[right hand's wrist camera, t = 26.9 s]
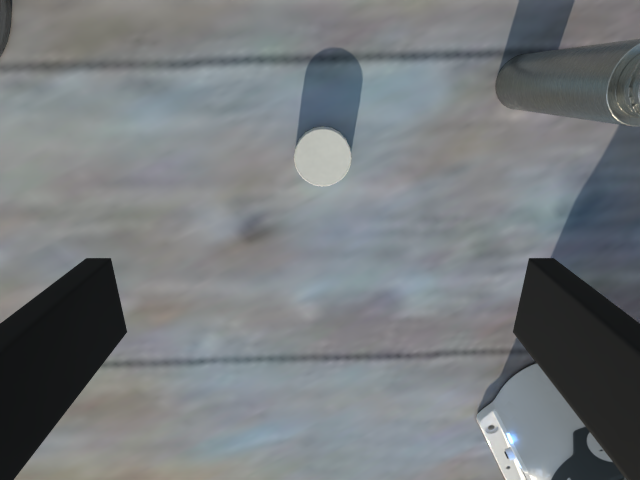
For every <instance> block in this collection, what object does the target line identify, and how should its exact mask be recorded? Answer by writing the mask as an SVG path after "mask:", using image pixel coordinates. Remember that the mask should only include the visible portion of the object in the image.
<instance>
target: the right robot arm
mask: <svg viewBox="0 0 640 480" xmlns="http://www.w3.org/2000/svg"><path fill="white" fill-rule="evenodd" d="M10 27H11V2H10V0H0V56H1V55H2V53H3V51H4V49H5V46H6V44H7V41H8V37H9V33H10ZM126 333H127V330H126V325H125V321H124V316H123V311H122V307H121V302H120V298H119V293H118V289H117V284H116V279H115V275H114V270H113V266H112V261H111V258H86V259H85V260H84V261H82V262H81V263H80V264H78V265H77V266H76V267H74V268H73V269H72V270H70V271H69V272H68V273H66V274H65V275H64V276H62V277H61V278H60V279H59V280H57V281H56V282H55V283H53V284H52V285H51V286H49V287H48V288H47V289H45V290H44V291H43V292H41V293H40V294H39V295H37V296H36V297H35V298H34V299H32V300H31V301H30V302H28V303H27V304H26V305H24V306H23V307H22V308H20V309H19V310H18V311H16V312H15V313H14V314H12V315H11V316H10V317H8V318H7V319H6V320H5V321H3V322H2V323H1V324H0V480H14V478H15V477H16V476H17V475H18V473H19V472H20V471H21V469H22V468H23V467H24V465H25V464H26V463H27V462H28V460H29V459H30V458H31V456H32V455H33V454H34V452H35V451H36V450H37V448H38V447H39V446H40V445H41V443H42V442H43V441H44V439H45V438H46V437H47V435H48V434H49V433H50V432H51V430H52V429H53V428H54V426H55V425H56V424H57V422H58V421H59V420H60V419H61V417H62V416H63V415H64V413H65V412H66V411H67V409H68V408H69V407H70V406H71V404H72V403H73V402H74V400H75V399H76V398H77V396H78V395H79V394H80V393H81V391H82V390H83V389H84V387H85V386H86V385H87V383H88V382H89V381H90V380H91V378H92V377H93V376H94V374H95V373H96V372H97V370H98V369H99V368H100V367H101V365H102V364H103V363H104V361H105V360H106V359H107V357H108V356H109V355H110V354H111V352H112V351H113V350H114V348H115V347H116V346H117V344H118V343H119V342H120V341H121V339H122V338H123V337H124V335H125V334H126ZM513 333H514V334H515V335H516V337H517V338H518V339H519V341H520V342H521V343H522V344H523V346H524V347H525V348H526V350H527V351H528V352H529V354H530V355H531V356H532V357H533V359H534V360H535V361H536V363H537V364H538V365H539V367H540V368H541V369H542V370H543V372H544V373H545V374H546V376H547V377H548V378H549V380H550V381H551V382H552V383H553V385H554V386H555V387H556V389H557V390H558V391H559V393H560V394H561V395H562V396H563V398H564V399H565V400H566V402H567V403H568V404H569V406H570V407H571V408H572V409H573V411H574V412H575V413H576V415H577V416H578V417H579V419H580V420H581V421H582V422H583V424H584V425H585V426H586V428H587V429H588V430H589V432H590V433H591V434H592V435H593V437H594V438H595V439H596V441H597V442H598V443H599V445H600V446H601V447H602V448H603V450H604V451H605V452H606V454H607V455H608V456H609V458H610V459H611V460H612V462H613V463H614V464H615V465H616V467H617V468H618V469H619V471H620V472H621V473H622V475H623V476H624V477H625V478H626V480H640V324H639V323H638V322H637V321H635V320H634V319H633V318H632V317H630V316H629V315H628V314H626V313H625V312H624V311H622V310H621V309H620V308H618V307H617V306H616V305H614V304H613V303H612V302H610V301H609V300H608V299H606V298H605V297H604V296H603V295H601V294H600V293H599V292H597V291H596V290H595V289H593V288H592V287H591V286H589V285H588V284H587V283H585V282H584V281H583V280H581V279H580V278H579V277H577V276H576V275H575V274H574V273H572V272H571V271H570V270H568V269H567V268H566V267H564V266H563V265H562V264H560V263H559V262H558V261H556V260H555V259H554V258H529V261H528V266H527V270H526V275H525V279H524V284H523V289H522V293H521V298H520V302H519V307H518V311H517V316H516V321H515V325H514V330H513Z"/></svg>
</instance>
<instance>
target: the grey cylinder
mask: <svg viewBox="0 0 640 480" xmlns="http://www.w3.org/2000/svg"><path fill="white" fill-rule="evenodd" d="M496 93H497V96H498V99H499V100H500V102H501V103H502V104H503V105H504V106H506V107H508V108H511V109H516V110H523V111H530V112H537V113H543V114H550V115H557V116H564V117H571V118H578V119H585V120H592V121H599V122H605V123H612V124H619V125H626V126H634V127H639V126H640V39H635V40H628V41H620V42H613V43H605V44H597V45H590V46H582V47H575V48H567V49H560V50H552V51H544V52H537V53H529V54H522V55H518V56H516V57H514V58H512V59H511V60H509V61H508V62H507V63H506V64H505V65H504V66H503V67H502V69H501V70H500V72H499V74H498V77H497V80H496Z"/></svg>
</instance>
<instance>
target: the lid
mask: <svg viewBox="0 0 640 480" xmlns="http://www.w3.org/2000/svg"><path fill="white" fill-rule="evenodd" d="M350 149H351V148H350V146H349V145H348V143H347V139H346V138H344V136H343V135H342V134H341V133H340V131H339V132H338V131H337V130H335V129H332V127H331V128H329V127H323V126H322V127H316V128H314V127H313V129H311V130H309V131H307V132H305V134H304V135H303V136H302V137H301V138H299V142H298V144H297V146H296V147H295V155H294V161H295V167H296V169H297V171H298V173H299V174H300V175H301V177H302V178H303V179H304V180H306V181H307V182H309V183H311V184H313V185H317V186H329V185H332V184H335V183H337V182H338V181H340V180H341V179H342V178H343V177H344V176H345V175H346V173H347V172H348V170H349V168H350V164H351V158H352V156H351V151H350Z"/></svg>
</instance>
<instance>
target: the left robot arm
mask: <svg viewBox="0 0 640 480" xmlns="http://www.w3.org/2000/svg"><path fill="white" fill-rule="evenodd" d="M476 419H477V422H478V424H479V426H480V428H481V430H482V432H483V434H484V436H485V438H486V440H487V443H488V445H489V447H490V449H491V451H492V453H493V455H494V457H495V459H496V461H497V463H498V465H499V467H500V469H501V471H502V473H503V476H504V478H505V480H626V478H625V477H624V476H623V475H622V473H621V472H620V471H619V469H618V468H617V467H616V465H615V464H614V463H613V462H612V460H611V459H610V458H609V456H608V455H607V454H606V452H605V451H604V450H603V448H602V447H601V446H600V445H599V443H598V442H597V441H596V439H595V438H594V437H593V435H592V434H591V433H590V432H589V430H588V429H587V428H586V426H585V425H584V424H583V422H582V421H581V420H580V419H579V417H578V416H577V415H576V413H575V412H574V411H573V409H572V408H571V407H570V406H569V404H568V403H567V402H566V400H565V399H564V398H563V396H562V395H561V394H560V393H559V391H558V390H557V389H556V387H555V386H554V385H553V383H552V382H551V381H550V380H549V378H548V377H547V376H546V374H545V373H544V372H543V370H542V369H541V368H540V367H539V365H538V364H537V363H536V364H533V365H531V366H529V367H527V368H525V369H523V370H521V371H520V372H518V373H517V374H516V375H514V376H513V377H512V378H511V379H510V380H509V381H508V382H507V383H506V384H505V385H504V386H503V387H502V389H501V390H500V392H499V393H498V395H497V396H496V398H495V399H494V401H493V402H492V403H490V404H489V405H487V406H486V407H485V408H484V409H482V410H481V411H480V412H479V413H478V414H477V417H476Z"/></svg>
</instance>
